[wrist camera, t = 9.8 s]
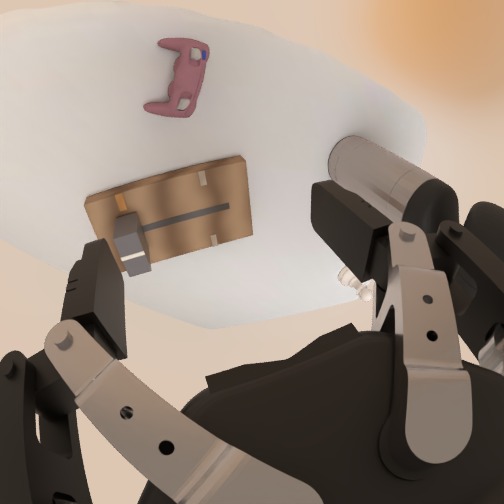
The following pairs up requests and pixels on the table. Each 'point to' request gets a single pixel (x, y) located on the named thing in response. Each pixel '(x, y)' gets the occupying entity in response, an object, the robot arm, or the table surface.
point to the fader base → (179, 208)
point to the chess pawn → (354, 284)
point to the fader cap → (132, 244)
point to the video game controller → (183, 78)
